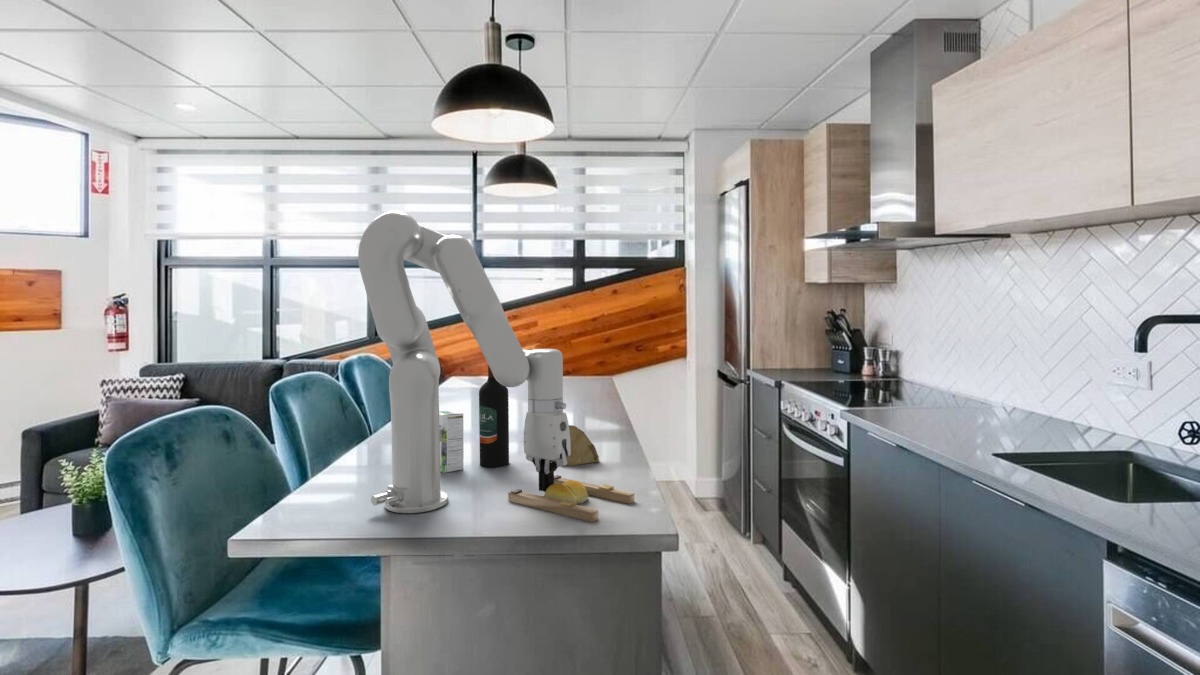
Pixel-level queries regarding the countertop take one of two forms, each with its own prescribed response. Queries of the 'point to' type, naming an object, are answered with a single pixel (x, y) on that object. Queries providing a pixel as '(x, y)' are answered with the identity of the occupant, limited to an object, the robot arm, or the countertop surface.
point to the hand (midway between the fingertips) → (546, 489)
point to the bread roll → (567, 492)
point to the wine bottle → (493, 423)
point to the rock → (581, 448)
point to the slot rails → (569, 506)
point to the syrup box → (451, 441)
